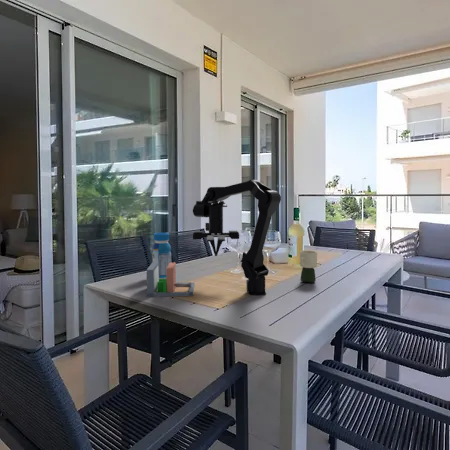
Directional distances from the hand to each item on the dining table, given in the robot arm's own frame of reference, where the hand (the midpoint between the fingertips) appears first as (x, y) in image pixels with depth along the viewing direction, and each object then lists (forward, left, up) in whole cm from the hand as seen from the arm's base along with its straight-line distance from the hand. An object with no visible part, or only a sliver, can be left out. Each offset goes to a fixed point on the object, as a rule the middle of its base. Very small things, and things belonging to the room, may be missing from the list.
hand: (216, 255), depth 148 cm
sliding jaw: (+14, +9, -12) cm, 20 cm away
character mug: (-39, -2, -12) cm, 41 cm away
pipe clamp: (+20, +9, -12) cm, 26 cm away
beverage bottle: (+24, -13, -12) cm, 30 cm away
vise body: (+18, +9, -12) cm, 23 cm away
